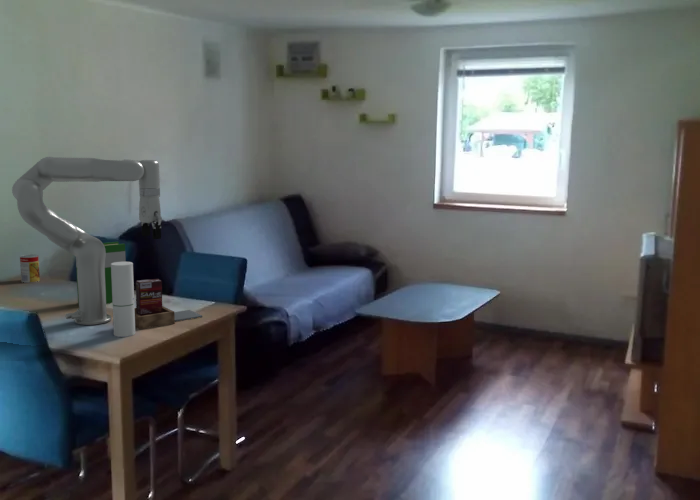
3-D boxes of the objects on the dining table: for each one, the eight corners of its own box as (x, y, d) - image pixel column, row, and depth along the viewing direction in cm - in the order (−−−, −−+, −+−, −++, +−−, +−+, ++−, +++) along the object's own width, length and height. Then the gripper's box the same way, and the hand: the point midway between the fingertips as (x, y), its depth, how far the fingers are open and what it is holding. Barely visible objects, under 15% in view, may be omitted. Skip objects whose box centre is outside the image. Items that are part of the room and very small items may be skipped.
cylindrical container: (137, 331, 243) (135, 261, 239) (132, 336, 236) (129, 265, 232) (117, 330, 243) (114, 261, 239) (111, 336, 236) (108, 265, 232)
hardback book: (119, 297, 292) (117, 241, 288) (127, 300, 287) (125, 243, 283) (78, 303, 281) (75, 245, 277) (84, 306, 275) (81, 247, 271)
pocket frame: (139, 329, 245) (139, 317, 244) (125, 321, 255) (124, 309, 254) (174, 323, 253) (174, 311, 253) (159, 315, 264) (159, 304, 263)
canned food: (43, 279, 324) (41, 254, 322) (33, 283, 316) (32, 257, 315) (27, 279, 325) (26, 254, 323) (17, 282, 318) (16, 256, 316)
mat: (175, 321, 256) (175, 320, 256) (163, 315, 264) (163, 313, 264) (202, 317, 263) (202, 315, 262) (189, 311, 271) (189, 309, 271)
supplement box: (140, 325, 250) (138, 283, 247) (136, 322, 254) (134, 280, 251) (163, 322, 255) (162, 280, 252) (159, 319, 259) (157, 278, 256)
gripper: (131, 191, 264) (132, 235, 267) (149, 194, 251) (151, 241, 254) (149, 190, 269) (151, 233, 272) (169, 194, 256) (170, 239, 259)
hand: (151, 237), depth 263 cm, fingers open, 9 cm apart
